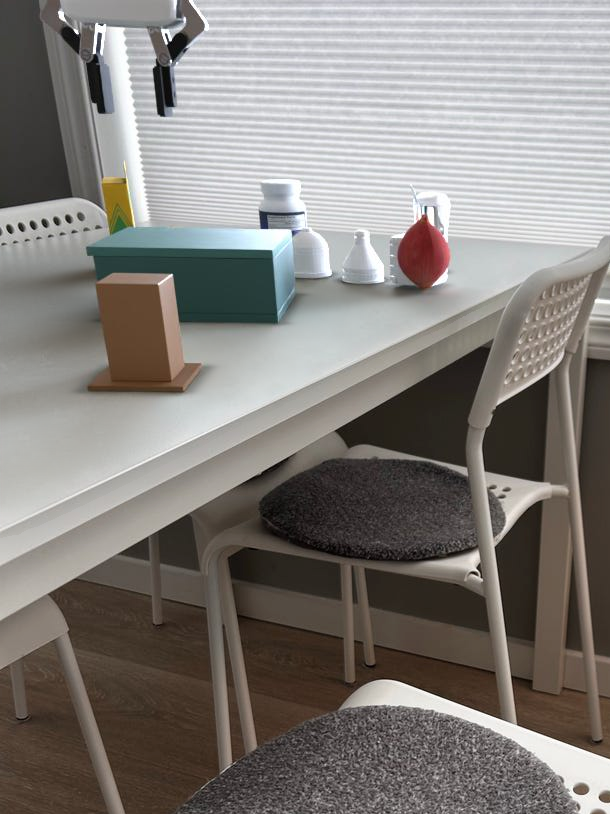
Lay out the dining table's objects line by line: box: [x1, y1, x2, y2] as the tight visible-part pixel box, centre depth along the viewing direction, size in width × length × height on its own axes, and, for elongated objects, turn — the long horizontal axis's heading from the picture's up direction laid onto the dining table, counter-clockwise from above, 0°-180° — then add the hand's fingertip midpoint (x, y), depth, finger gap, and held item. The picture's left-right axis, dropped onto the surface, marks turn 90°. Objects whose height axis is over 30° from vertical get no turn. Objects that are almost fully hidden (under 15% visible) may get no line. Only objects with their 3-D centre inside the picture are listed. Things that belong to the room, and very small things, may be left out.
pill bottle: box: [258, 178, 308, 237], centre depth 116 cm, size 6×6×10 cm
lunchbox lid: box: [85, 226, 292, 259], centre depth 94 cm, size 17×15×1 cm
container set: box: [292, 226, 449, 287], centre depth 112 cm, size 20×5×6 cm, turn 67°
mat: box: [86, 362, 203, 393], centre depth 73 cm, size 7×7×1 cm
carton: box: [94, 273, 185, 382], centre depth 71 cm, size 4×4×7 cm
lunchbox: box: [92, 238, 297, 324], centre depth 96 cm, size 17×15×6 cm
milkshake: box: [409, 184, 451, 238], centre depth 117 cm, size 4×5×10 cm
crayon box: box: [101, 160, 136, 236], centre depth 114 cm, size 7×3×12 cm, turn 18°
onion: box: [397, 214, 451, 291], centre depth 105 cm, size 6×6×8 cm
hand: (135, 112), depth 88 cm, fingers open, 4 cm apart
